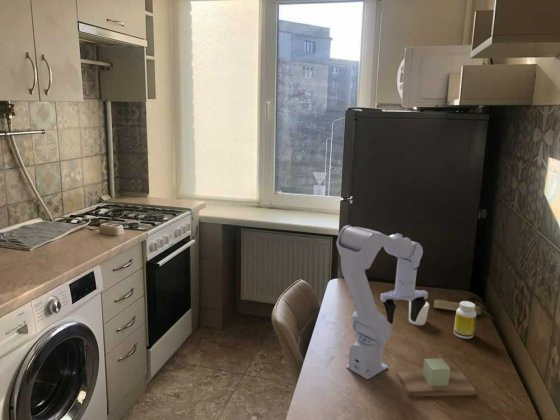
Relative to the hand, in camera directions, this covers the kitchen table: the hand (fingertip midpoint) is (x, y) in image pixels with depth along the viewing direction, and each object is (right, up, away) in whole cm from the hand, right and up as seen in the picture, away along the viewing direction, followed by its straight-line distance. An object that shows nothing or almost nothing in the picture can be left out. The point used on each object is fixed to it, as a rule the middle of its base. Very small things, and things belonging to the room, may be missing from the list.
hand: (401, 321), depth 142 cm
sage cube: (+5, -12, -16) cm, 21 cm away
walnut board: (+5, -14, -16) cm, 21 cm away
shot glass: (+11, -5, +21) cm, 24 cm away
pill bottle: (+24, -8, +12) cm, 28 cm away
